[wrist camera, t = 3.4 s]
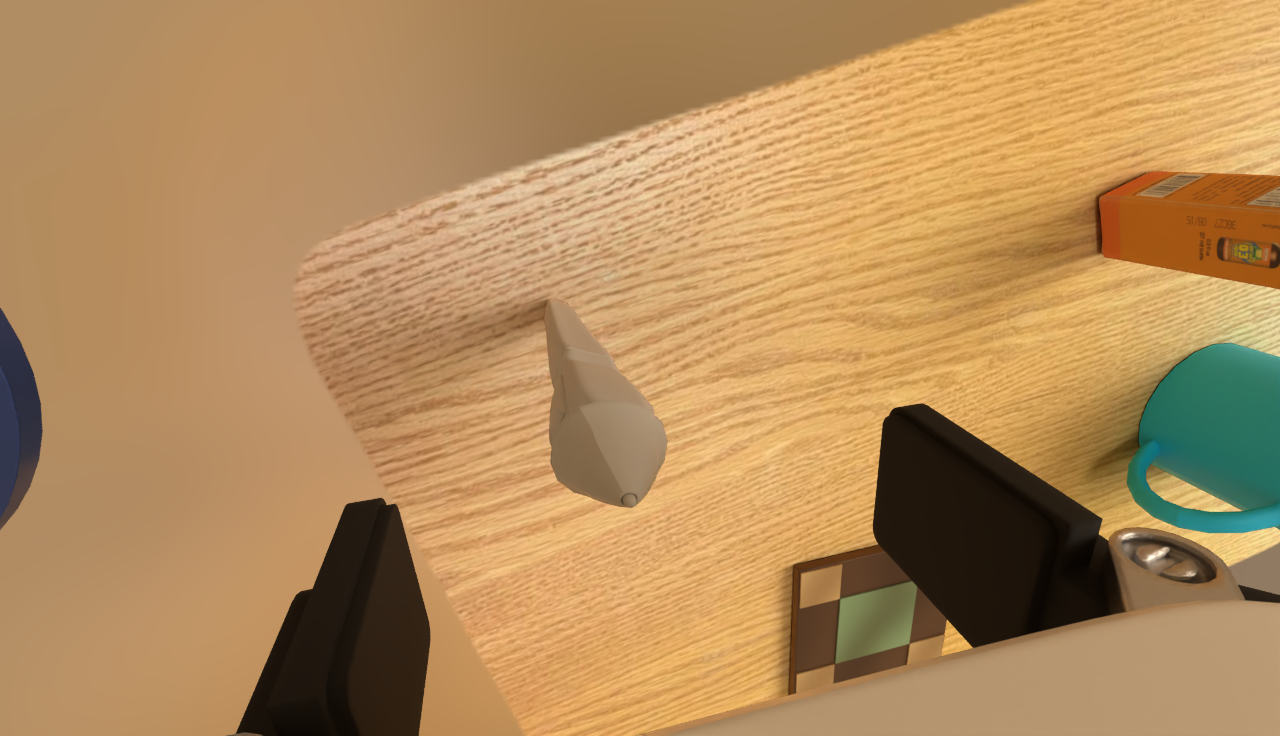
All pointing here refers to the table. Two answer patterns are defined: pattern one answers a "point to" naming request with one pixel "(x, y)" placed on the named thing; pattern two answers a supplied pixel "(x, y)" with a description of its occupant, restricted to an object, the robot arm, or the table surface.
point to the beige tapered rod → (598, 417)
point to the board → (858, 619)
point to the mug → (1215, 439)
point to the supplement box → (1197, 224)
